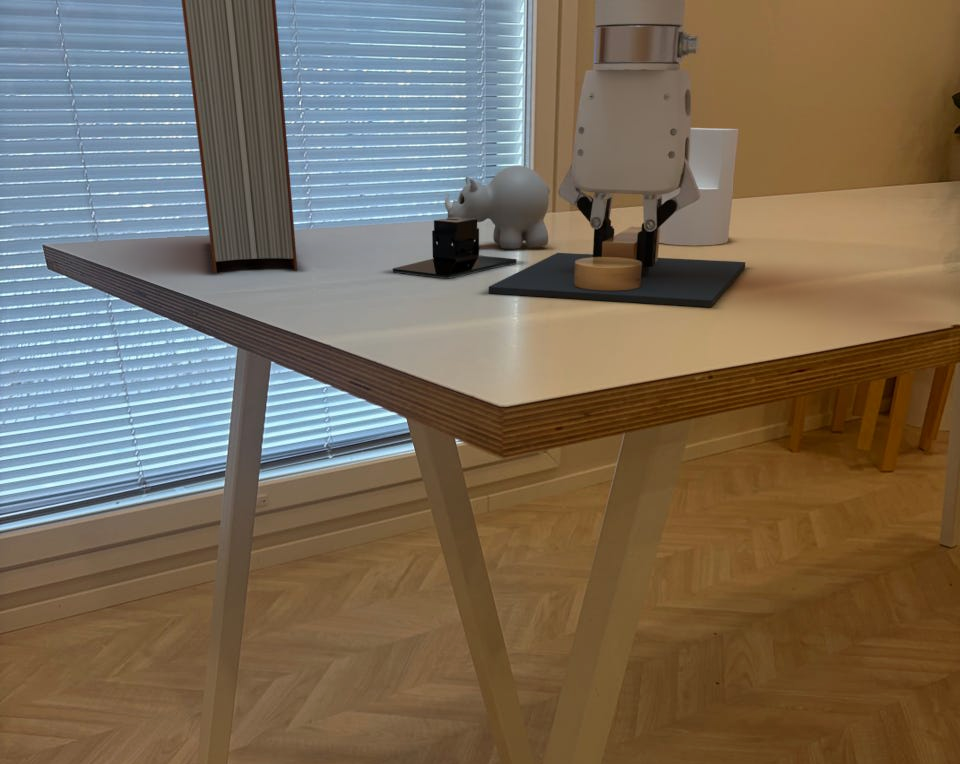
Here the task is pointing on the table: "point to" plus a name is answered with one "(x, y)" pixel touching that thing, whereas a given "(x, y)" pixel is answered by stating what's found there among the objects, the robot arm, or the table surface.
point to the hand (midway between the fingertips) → (623, 271)
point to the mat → (659, 286)
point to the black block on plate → (454, 251)
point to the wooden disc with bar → (613, 264)
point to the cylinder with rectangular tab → (705, 191)
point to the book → (241, 127)
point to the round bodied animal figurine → (507, 206)
